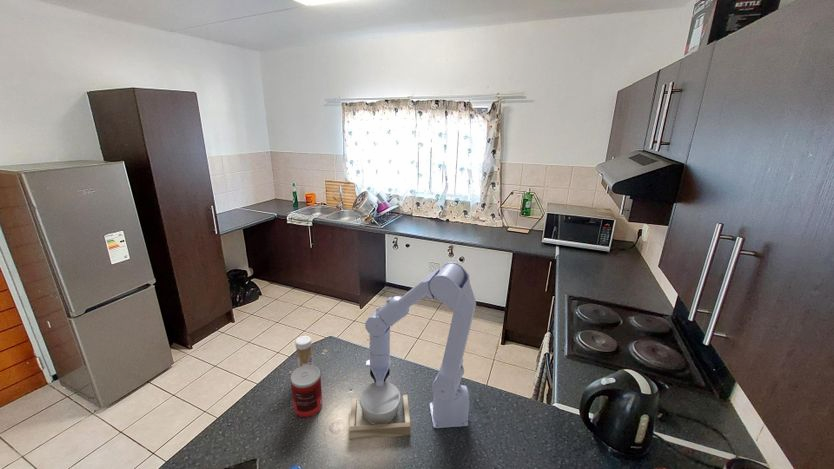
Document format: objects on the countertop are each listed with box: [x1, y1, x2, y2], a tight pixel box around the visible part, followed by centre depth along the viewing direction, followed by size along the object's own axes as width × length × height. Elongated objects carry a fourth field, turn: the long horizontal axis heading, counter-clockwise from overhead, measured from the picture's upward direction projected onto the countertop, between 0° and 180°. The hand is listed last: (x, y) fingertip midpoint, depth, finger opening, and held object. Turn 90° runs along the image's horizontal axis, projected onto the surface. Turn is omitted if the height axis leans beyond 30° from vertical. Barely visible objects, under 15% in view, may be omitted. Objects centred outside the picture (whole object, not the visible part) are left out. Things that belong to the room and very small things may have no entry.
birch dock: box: [348, 394, 411, 441], centre depth 86 cm, size 10×15×3 cm, turn 96°
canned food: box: [290, 364, 323, 418], centre depth 88 cm, size 8×8×11 cm
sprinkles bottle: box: [294, 335, 314, 368], centre depth 99 cm, size 5×5×13 cm
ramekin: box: [359, 381, 401, 425], centre depth 88 cm, size 11×11×5 cm
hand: (380, 387), depth 96 cm, fingers closed
